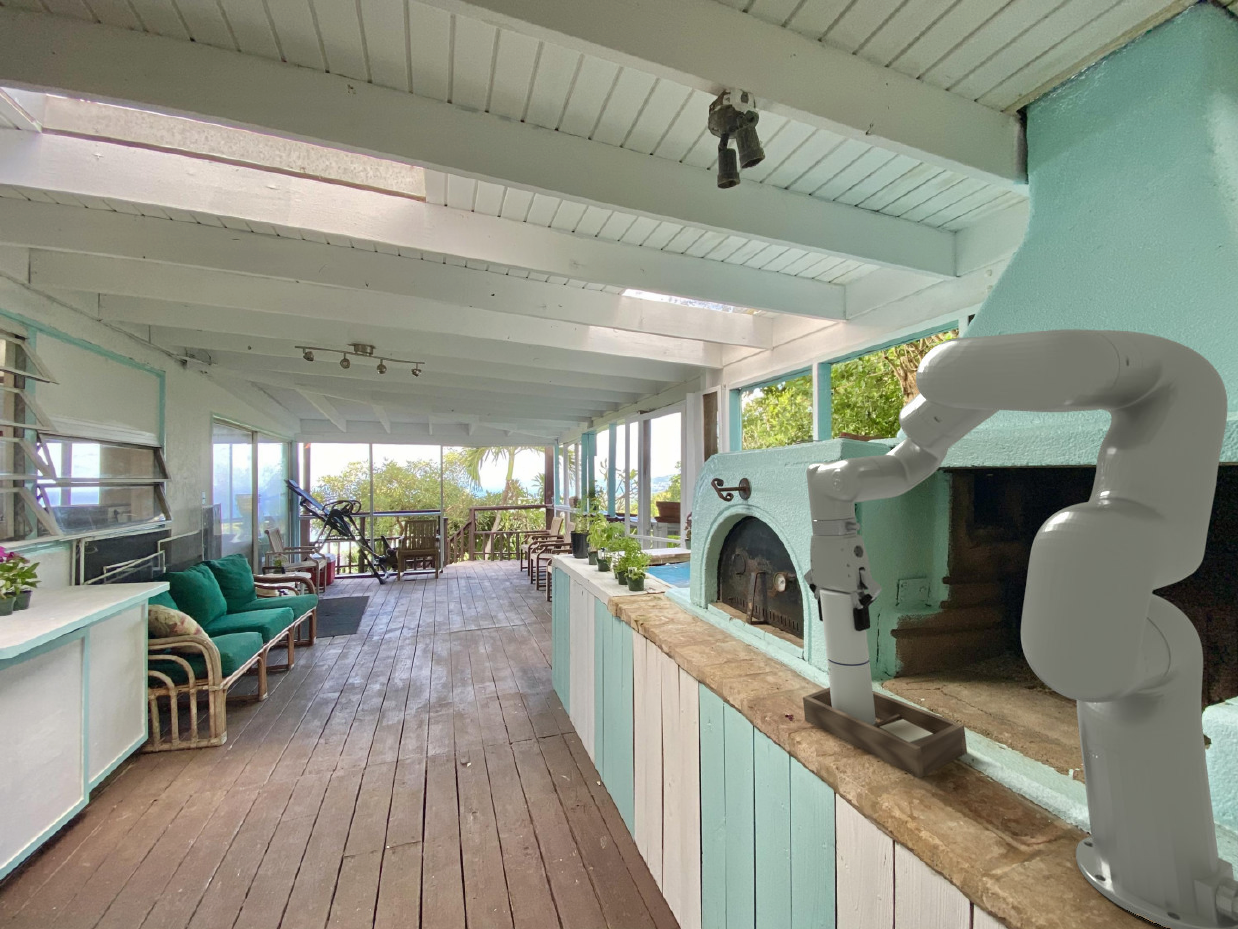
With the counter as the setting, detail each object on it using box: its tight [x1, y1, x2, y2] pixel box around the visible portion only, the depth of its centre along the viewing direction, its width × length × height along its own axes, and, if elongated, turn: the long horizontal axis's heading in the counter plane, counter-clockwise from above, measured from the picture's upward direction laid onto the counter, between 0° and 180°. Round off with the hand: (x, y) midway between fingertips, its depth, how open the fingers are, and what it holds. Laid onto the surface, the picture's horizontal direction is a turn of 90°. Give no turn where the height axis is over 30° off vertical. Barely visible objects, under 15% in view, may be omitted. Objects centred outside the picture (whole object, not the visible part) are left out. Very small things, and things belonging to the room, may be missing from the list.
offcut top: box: [880, 719, 933, 744], centre depth 81 cm, size 6×5×2 cm
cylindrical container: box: [820, 588, 877, 725], centre depth 91 cm, size 7×7×25 cm
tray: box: [802, 686, 968, 779], centre depth 86 cm, size 22×12×5 cm, turn 26°
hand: (844, 623), depth 91 cm, fingers closed on cylindrical container, 7 cm apart
